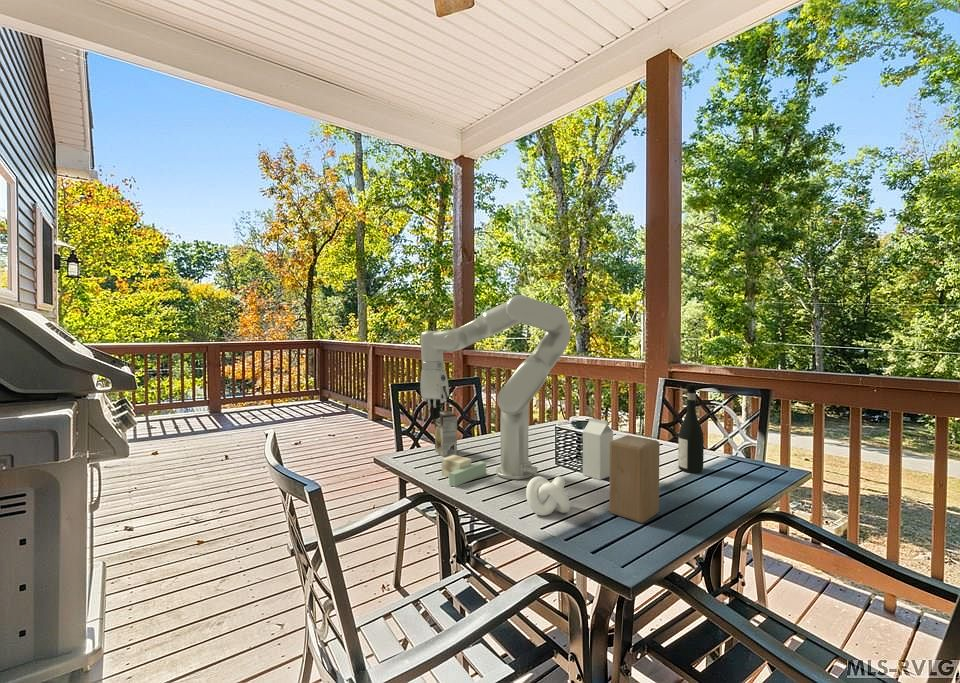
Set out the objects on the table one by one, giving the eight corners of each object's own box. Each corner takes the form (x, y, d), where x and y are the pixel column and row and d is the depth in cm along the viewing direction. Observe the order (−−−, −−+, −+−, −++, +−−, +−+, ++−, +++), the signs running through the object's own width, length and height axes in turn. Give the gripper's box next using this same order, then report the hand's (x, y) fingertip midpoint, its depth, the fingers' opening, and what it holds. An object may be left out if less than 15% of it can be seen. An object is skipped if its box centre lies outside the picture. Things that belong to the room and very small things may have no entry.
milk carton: (600, 480, 150) (600, 422, 149) (582, 475, 155) (582, 419, 155) (613, 475, 154) (613, 419, 154) (595, 470, 160) (595, 416, 159)
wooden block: (607, 513, 124) (608, 440, 123) (625, 503, 131) (626, 433, 130) (643, 525, 117) (643, 447, 116) (660, 513, 124) (661, 440, 123)
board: (486, 473, 157) (486, 462, 157) (454, 486, 145) (454, 474, 145) (480, 472, 159) (480, 460, 158) (449, 485, 146) (449, 472, 146)
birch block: (471, 476, 155) (471, 458, 155) (459, 481, 150) (459, 463, 150) (453, 471, 160) (453, 454, 160) (441, 476, 155) (441, 458, 155)
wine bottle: (680, 472, 157) (681, 385, 156) (676, 465, 165) (677, 382, 163) (705, 474, 155) (707, 386, 154) (700, 467, 163) (701, 383, 162)
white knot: (533, 499, 134) (533, 469, 134) (575, 505, 130) (575, 474, 129) (523, 515, 123) (523, 482, 123) (567, 521, 119) (567, 487, 119)
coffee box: (434, 451, 186) (434, 411, 185) (449, 449, 188) (448, 410, 188) (442, 456, 177) (441, 415, 177) (457, 454, 180) (457, 414, 179)
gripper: (455, 365, 159) (458, 418, 159) (425, 364, 168) (427, 414, 169) (440, 367, 153) (443, 422, 153) (410, 366, 162) (412, 418, 163)
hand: (435, 418), depth 161 cm, fingers closed
